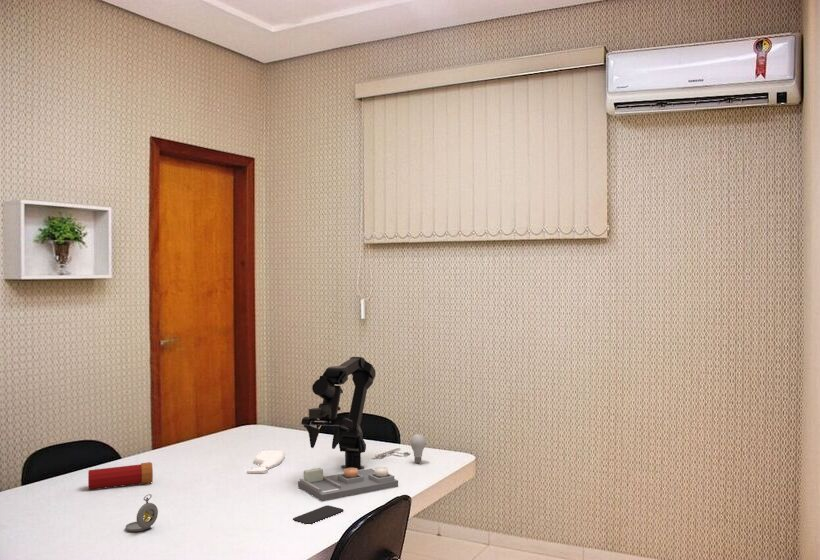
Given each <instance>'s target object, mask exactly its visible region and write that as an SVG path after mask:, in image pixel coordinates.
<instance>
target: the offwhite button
mask: <svg viewBox="0 0 820 560" xmlns="http://www.w3.org/2000/svg"><path fill="white" fill-rule="evenodd" d="M374 470H375V476H379V477H383V476H387V475H388V473H389V468H388V467H386V466H377V467H374Z"/></svg>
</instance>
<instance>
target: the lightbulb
mask: <svg viewBox="0 0 820 560" xmlns="http://www.w3.org/2000/svg"><path fill="white" fill-rule="evenodd" d="M409 443H410V444H409V445H410V448H411V449H412V452H413V456H414V462H415V463H416V464H420V463H421V462H422V457H423V451H424V450H425V447H426V445H427V440H426V438H425V436H424V435H422V434H419V433H417V434H414V435H412V437H411V438H410V441H409Z"/></svg>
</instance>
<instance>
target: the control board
mask: <svg viewBox="0 0 820 560" xmlns="http://www.w3.org/2000/svg"><path fill="white" fill-rule="evenodd" d="M298 487H299V488H298ZM397 487H399V480H398V479H396V478H395V475H393V474H390V473H389V472H388V475H387V476H383V477H379V476H375V469H372V468H367V469H362V470H361V469H359V470H358V476H356V477H345V476H344V472H343V473H338V474H337V473H336V474H332V475H331V474H330V475H327V476H326V475H325V476H324V475H323V480H321V481H316V482H310V483H309V482H307V481H305V480H304V478H299V480H298V481H297V488H298V489H300V488H301V489H300V490H302V489H303V490H302V491H304V490H305V491H306V492H305V491H304V492H305V493H307V492H308V493H307V494H309V493H310V494H309V495H311V496H312V495H313V496H312V497H314V498H315V499H317V498H318V501H321V502H327V501H331V500H332V501H333V500H336V499H340V498H341V499H342V498H346V497H352V496H357V495H362V494H366V493H373V492H376V491H377V492H378V491H382V490H388V489H393V488H397ZM326 500H327V501H326Z"/></svg>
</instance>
